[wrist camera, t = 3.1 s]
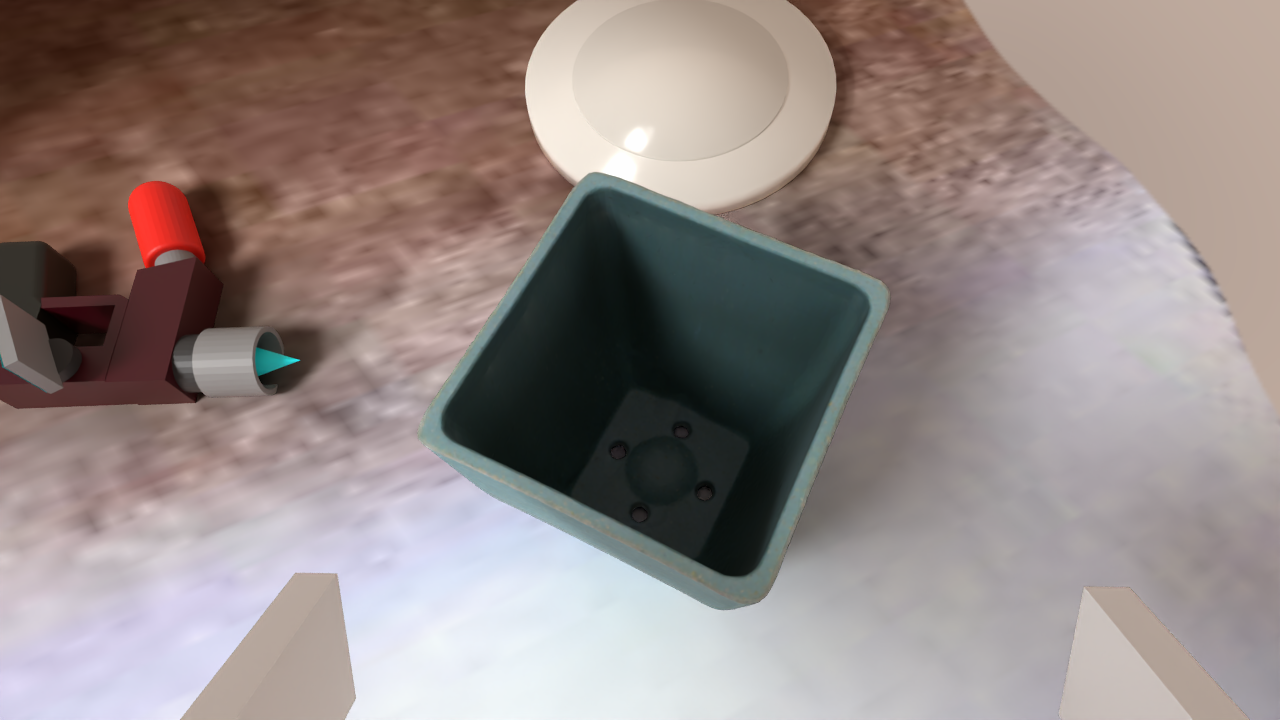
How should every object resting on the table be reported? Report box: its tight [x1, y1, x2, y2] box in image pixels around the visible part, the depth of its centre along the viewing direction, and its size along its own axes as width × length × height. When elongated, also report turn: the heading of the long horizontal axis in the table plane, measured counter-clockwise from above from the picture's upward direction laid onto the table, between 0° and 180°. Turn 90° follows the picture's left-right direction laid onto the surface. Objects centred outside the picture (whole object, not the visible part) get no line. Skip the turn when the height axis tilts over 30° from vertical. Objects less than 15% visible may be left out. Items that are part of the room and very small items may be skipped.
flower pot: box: [417, 172, 891, 610], centre depth 23 cm, size 9×9×9 cm
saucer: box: [525, 0, 836, 215], centre depth 34 cm, size 13×13×1 cm
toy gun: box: [0, 181, 300, 409], centre depth 29 cm, size 10×12×5 cm
